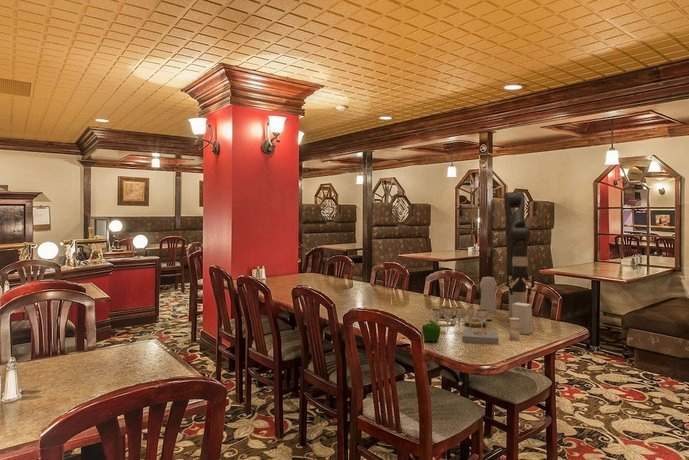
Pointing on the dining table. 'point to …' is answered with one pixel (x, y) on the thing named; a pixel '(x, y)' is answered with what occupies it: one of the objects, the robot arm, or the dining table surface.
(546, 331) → the dining table surface
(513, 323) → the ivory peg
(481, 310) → the goblet set
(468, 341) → the notched board
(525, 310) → the skincare box
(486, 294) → the tall pale column
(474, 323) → the tableware set
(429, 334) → the bell pepper
